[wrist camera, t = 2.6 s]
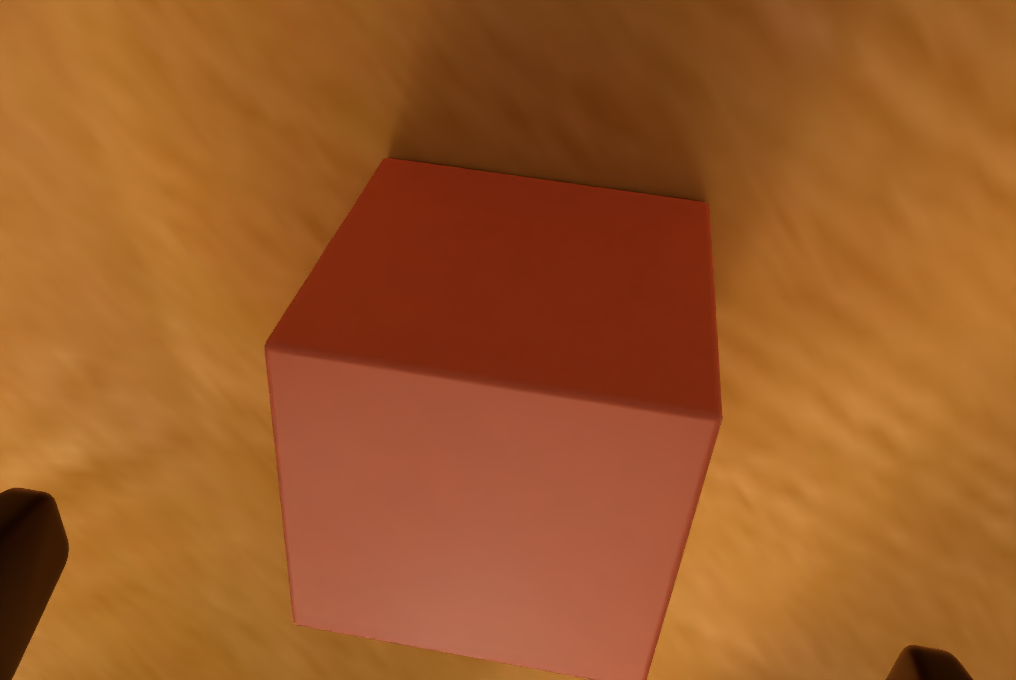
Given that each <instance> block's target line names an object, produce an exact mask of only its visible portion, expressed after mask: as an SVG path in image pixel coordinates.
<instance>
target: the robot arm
mask: <svg viewBox="0 0 1016 680" xmlns="http://www.w3.org/2000/svg"><path fill="white" fill-rule="evenodd" d="M68 552H69V543H68V539H67V536H66V532H65V529H64V526H63V523H62V520H61V517H60V513H59V510H58V507H57V504H56V501H55V499H54V498H53V497H52V496H51V495H50V494H49V493H46V492H42V491H36V490H30V489H24V488H12V489H9V490H6V491H4V492H2V493H0V680H12V678H13V676H14V674H15V672H16V670H17V668H18V665H19V663H20V661H21V659H22V657H23V655H24V653H25V650H26V648H27V646H28V644H29V642H30V640H31V638H32V635H33V633H34V631H35V629H36V627H37V625H38V623H39V620H40V618H41V616H42V614H43V612H44V610H45V608H46V605H47V603H48V601H49V599H50V597H51V595H52V593H53V590H54V588H55V586H56V584H57V582H58V580H59V578H60V575H61V573H62V571H63V569H64V567H65V564H66V561H67V558H68ZM886 680H973V679H972V678H971V676H970V675H969V674H968V672H967V671H966V670H965V668H964V667H963V666H962V665H961V663H960V662H959V661H958V660H957V659H956V658H955V657H954V656H953V655H952V654H951V653H949V652H947V651H944V650H940V649H934V648H928V647H923V646H917V645H910V646H908V647H906V648H904V649H903V651H902V652H901V653H900V655H899V657H898V659H897V661H896V662H895V664H894V666H893V668H892V669H891V671H890V673H889V675H888V677H887V678H886Z"/></svg>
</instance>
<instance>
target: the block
mask: <svg viewBox="0 0 1016 680" xmlns="http://www.w3.org/2000/svg"><path fill="white" fill-rule="evenodd" d="M265 356H266V366H267V375H268V385H269V394H270V404H271V413H272V423H273V433H274V442H275V452H276V461H277V471H278V480H279V490H280V499H281V509H282V518H283V528H284V537H285V547H286V556H287V566H288V575H289V585H290V595H291V604H292V614H293V622H294V623H295V624H297V625H298V626H303V627H309V628H314V629H320V630H325V631H330V632H336V633H341V634H347V635H352V636H358V637H363V638H369V639H374V640H380V641H385V642H390V643H396V644H401V645H407V646H412V647H418V648H423V649H429V650H434V651H440V652H445V653H450V654H456V655H461V656H467V657H472V658H478V659H483V660H489V661H494V662H500V663H505V664H510V665H516V666H521V667H527V668H532V669H538V670H543V671H549V672H554V673H559V674H565V675H570V676H576V677H581V678H587V679H592V680H646V679H647V676H648V672H649V669H650V666H651V662H652V659H653V655H654V652H655V648H656V645H657V641H658V638H659V635H660V631H661V628H662V624H663V621H664V617H665V614H666V611H667V607H668V604H669V600H670V597H671V593H672V590H673V586H674V583H675V580H676V576H677V573H678V569H679V566H680V562H681V559H682V556H683V552H684V549H685V545H686V542H687V538H688V535H689V531H690V528H691V525H692V521H693V518H694V514H695V511H696V507H697V504H698V501H699V497H700V494H701V490H702V487H703V483H704V480H705V476H706V473H707V470H708V466H709V463H710V459H711V456H712V452H713V449H714V446H715V442H716V439H717V435H718V432H719V428H720V425H721V421H722V403H721V386H720V370H719V354H718V338H717V321H716V305H715V289H714V272H713V256H712V240H711V224H710V209H709V205H708V204H707V203H705V202H701V201H694V200H687V199H680V198H672V197H665V196H658V195H651V194H644V193H637V192H629V191H622V190H615V189H608V188H601V187H594V186H587V185H579V184H572V183H565V182H558V181H551V180H544V179H536V178H529V177H522V176H515V175H508V174H501V173H493V172H486V171H479V170H472V169H465V168H458V167H451V166H443V165H436V164H429V163H422V162H415V161H408V160H400V159H393V158H385V159H383V160H382V162H381V163H380V165H379V167H378V168H377V170H376V171H375V173H374V174H373V176H372V177H371V179H370V181H369V182H368V184H367V185H366V187H365V188H364V190H363V192H362V193H361V195H360V196H359V198H358V199H357V201H356V202H355V204H354V206H353V207H352V209H351V210H350V212H349V213H348V215H347V216H346V218H345V220H344V221H343V223H342V224H341V226H340V227H339V229H338V230H337V232H336V234H335V235H334V237H333V238H332V240H331V241H330V243H329V245H328V246H327V248H326V249H325V251H324V252H323V254H322V255H321V257H320V259H319V260H318V262H317V263H316V265H315V266H314V268H313V269H312V271H311V273H310V274H309V276H308V277H307V279H306V280H305V282H304V283H303V285H302V287H301V288H300V290H299V291H298V293H297V294H296V296H295V298H294V299H293V301H292V302H291V304H290V305H289V307H288V308H287V310H286V312H285V313H284V315H283V316H282V318H281V319H280V321H279V322H278V324H277V326H276V327H275V329H274V330H273V332H272V333H271V335H270V336H269V338H268V340H267V341H266V344H265Z"/></svg>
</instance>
